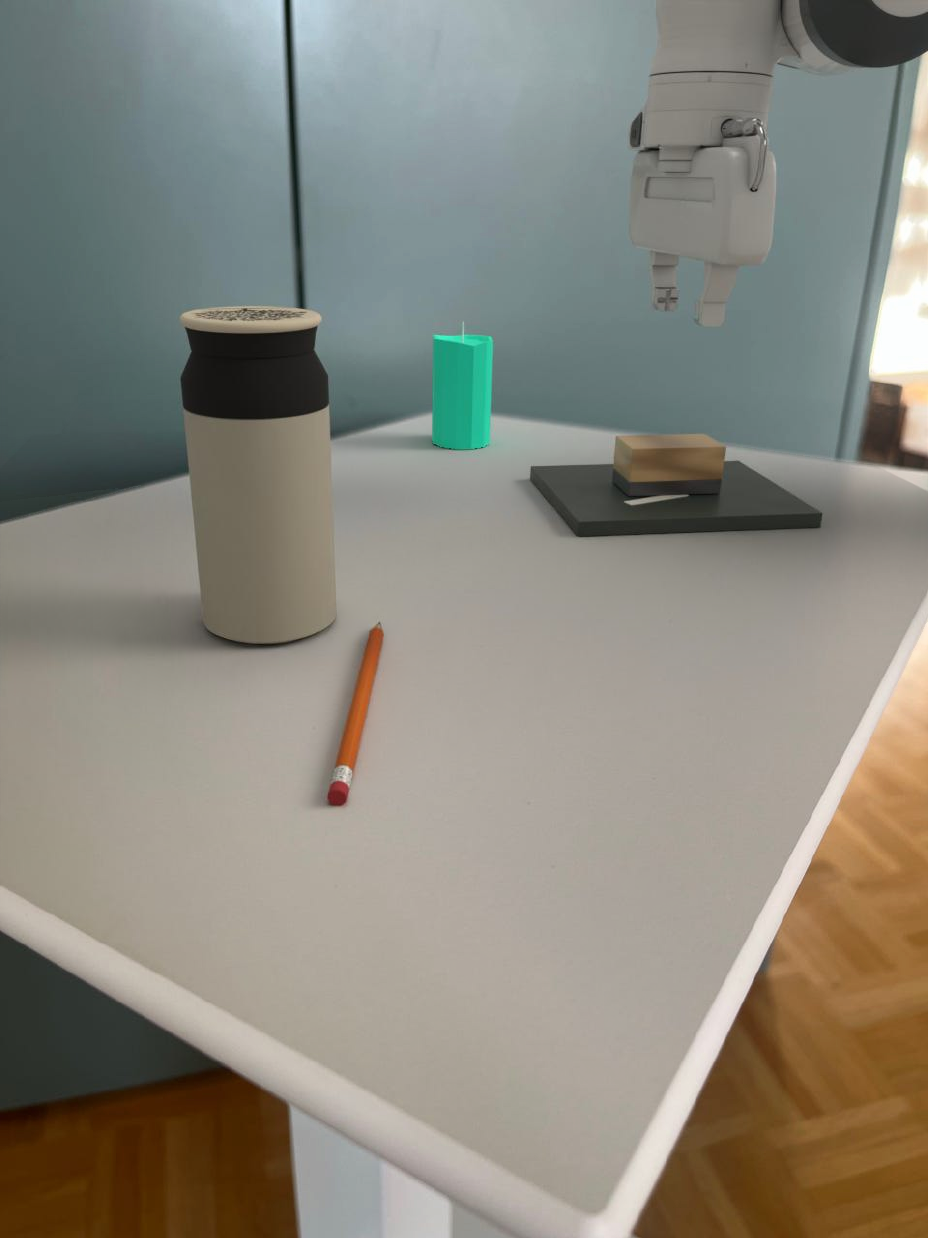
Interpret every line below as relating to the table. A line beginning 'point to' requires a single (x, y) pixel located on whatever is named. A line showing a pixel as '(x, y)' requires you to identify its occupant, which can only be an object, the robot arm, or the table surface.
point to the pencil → (355, 720)
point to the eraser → (668, 464)
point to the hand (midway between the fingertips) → (684, 317)
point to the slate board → (669, 503)
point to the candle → (462, 390)
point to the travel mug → (260, 472)
